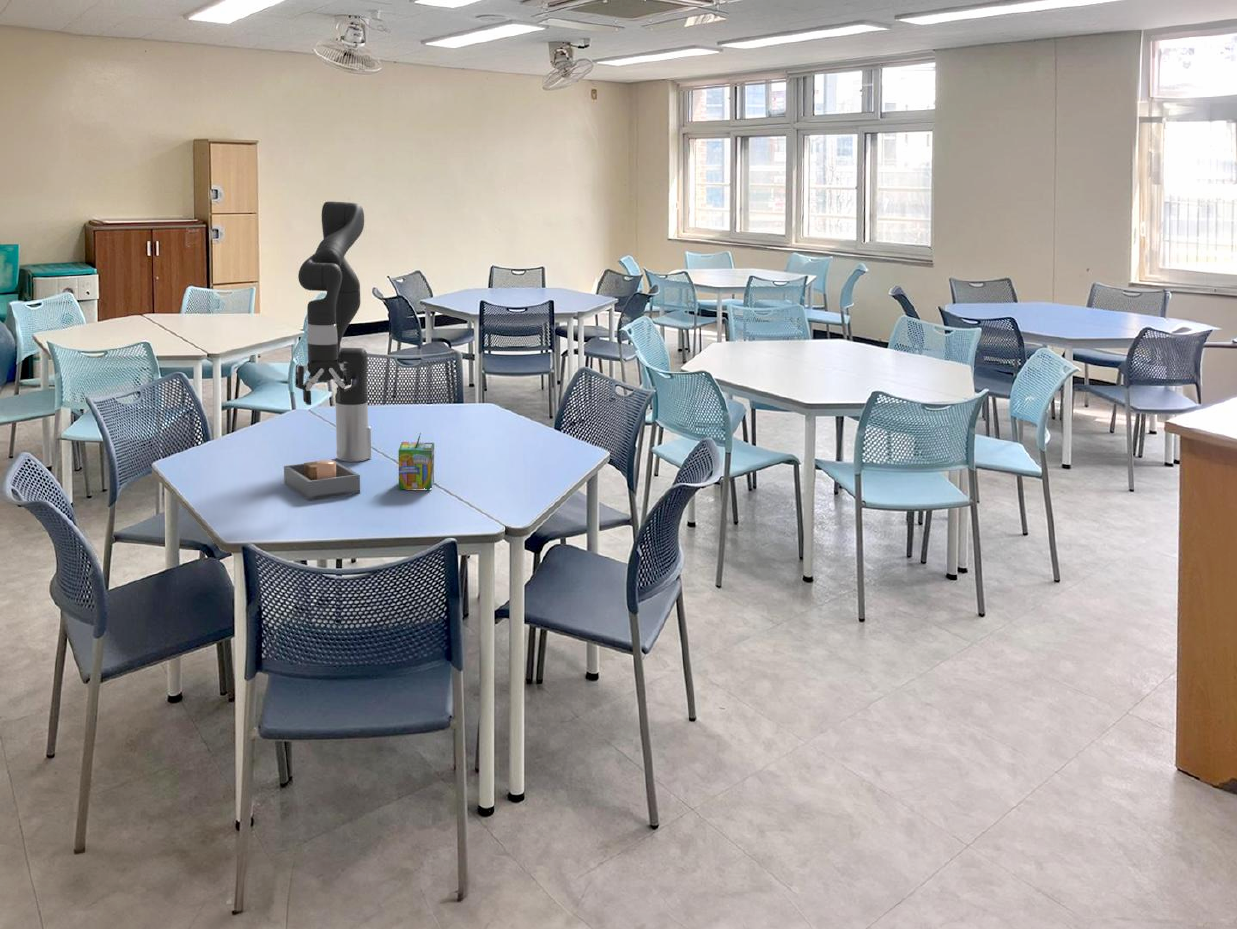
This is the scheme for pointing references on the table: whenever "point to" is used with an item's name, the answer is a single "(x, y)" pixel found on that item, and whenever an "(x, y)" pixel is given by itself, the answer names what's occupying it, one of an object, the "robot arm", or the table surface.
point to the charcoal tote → (322, 482)
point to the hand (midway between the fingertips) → (324, 403)
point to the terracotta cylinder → (326, 469)
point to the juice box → (416, 465)
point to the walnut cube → (310, 470)
